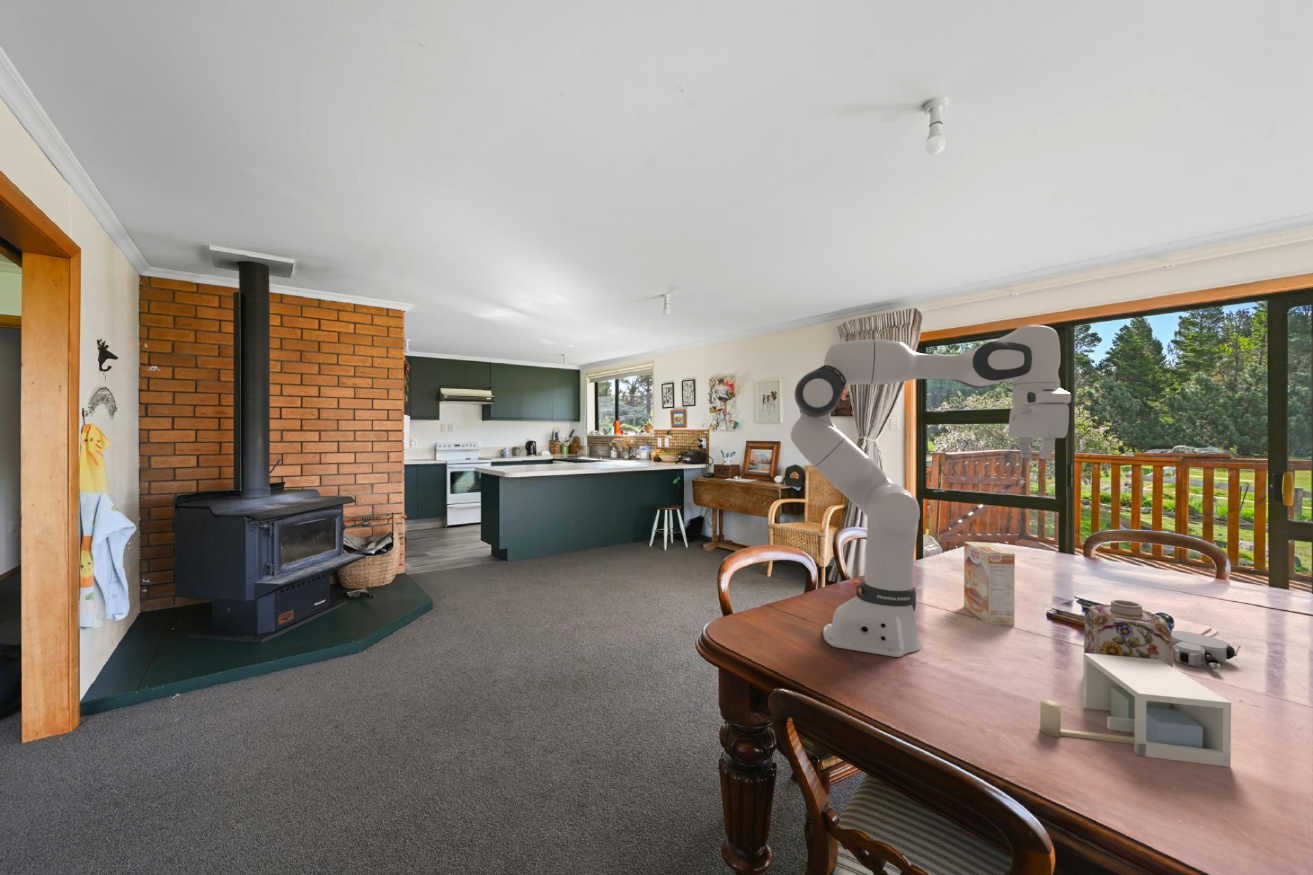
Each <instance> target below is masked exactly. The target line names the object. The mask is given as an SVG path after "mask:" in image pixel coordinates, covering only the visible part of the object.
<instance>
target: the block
mask: <svg viewBox="0 0 1313 875" xmlns="http://www.w3.org/2000/svg"><path fill="white" fill-rule="evenodd" d="M1146 707H1148V708H1157V709H1167V710H1169V704H1168V703H1166V702H1156V701H1146ZM1110 714H1111V715H1112V717H1121V718H1130V719H1135V696H1133V695H1132V694H1131V693H1129V692H1128V691H1127V690H1125V689H1124V688H1119V687H1111V711H1110Z"/></svg>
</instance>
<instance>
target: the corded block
mask: <svg viewBox="0 0 1313 875" xmlns="http://www.w3.org/2000/svg"><path fill="white" fill-rule="evenodd" d="M1039 702H1040V704H1039V705H1040V709H1039V710H1040V711H1039V712H1040V714H1039V716H1040V717H1039V719H1040V721H1039V729H1040V730H1039V731H1040V732H1041V733H1042V734H1043V735H1046V736H1048V737H1053V738H1059V737H1061V736H1062V737H1063V736H1065V737H1072V738H1073V737H1074V738H1083V739H1088V740H1089V739H1090V740H1097V741H1098V740H1099V741H1106V742H1115V743H1122V744H1123V743H1124V744H1133V745H1134V742H1135V736H1133V737H1132V736H1125V735H1118V734H1117V735H1116V734H1109V733H1108V734H1107V733H1100V732H1099V733H1098V732H1090V731H1081V730H1076V729H1075V730H1071V729H1066V728H1062V727H1061V726H1062V725H1061V719H1062V718H1061V714H1062V713H1061V709H1062V707H1061V706H1062V705H1061V704H1060V703H1059V702H1056V701H1054V700H1051V699H1040V701H1039ZM1146 742H1152V743H1160V744H1169V745H1177V746H1186V747H1195V748H1203V727H1202V726H1201V725H1199V724H1198V723H1196V722H1195V721H1194V720H1192V719H1191V718H1189V717H1188V716H1186V715H1185V714H1184V713H1182V712H1181V711H1176V710H1167V709H1157V708H1148V707H1146Z"/></svg>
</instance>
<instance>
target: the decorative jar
mask: <svg viewBox="0 0 1313 875" xmlns="http://www.w3.org/2000/svg"><path fill="white" fill-rule="evenodd" d="M1168 628H1169V626H1168V623H1167V621H1166V620H1165V619H1164V618H1163V617H1162V616H1160V615H1157V614H1154V613H1152V612H1150V611H1146V610H1145V609H1143V607H1142V604H1140V603H1138V602H1135V601H1129V600H1122V599H1113V600H1111V601H1110V604H1098V605H1090V606H1088V608H1087V610H1086V611H1085V614H1084V635H1083V636H1084V639H1083V640H1084V641H1083V654H1084V653H1089V654H1100V655H1112V656H1124V657H1135V658H1147V659H1159V660H1161V661H1163V662H1164V663H1166V664H1168V665H1169V666H1171V667H1173V668H1174V657H1173V640H1172V637H1171V633H1170V632H1171V631H1170V628H1169V630H1168Z"/></svg>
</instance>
